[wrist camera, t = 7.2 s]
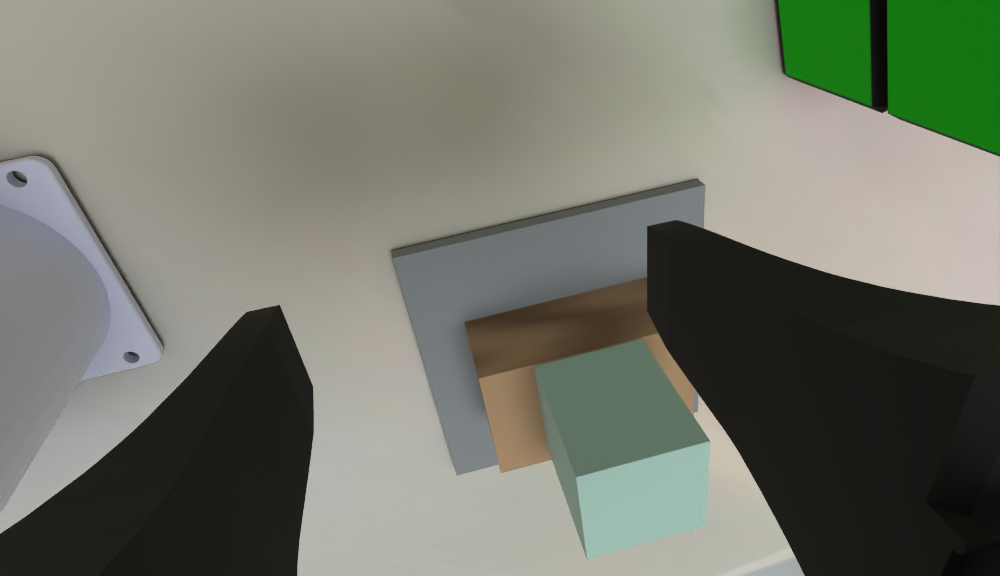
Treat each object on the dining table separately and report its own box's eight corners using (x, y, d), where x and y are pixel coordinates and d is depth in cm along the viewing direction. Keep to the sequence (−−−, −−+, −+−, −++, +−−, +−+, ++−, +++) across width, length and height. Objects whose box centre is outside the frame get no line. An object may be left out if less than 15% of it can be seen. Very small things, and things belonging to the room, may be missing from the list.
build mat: (455, 465, 29) (456, 475, 28) (391, 250, 22) (392, 258, 22) (691, 403, 30) (697, 411, 29) (697, 179, 23) (704, 184, 23)
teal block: (546, 444, 23) (587, 559, 19) (533, 366, 21) (576, 477, 17) (644, 418, 24) (705, 526, 19) (641, 338, 21) (709, 441, 17)
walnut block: (485, 411, 27) (501, 473, 24) (464, 322, 24) (478, 378, 21) (657, 367, 27) (693, 421, 24) (656, 274, 24) (695, 323, 22)
